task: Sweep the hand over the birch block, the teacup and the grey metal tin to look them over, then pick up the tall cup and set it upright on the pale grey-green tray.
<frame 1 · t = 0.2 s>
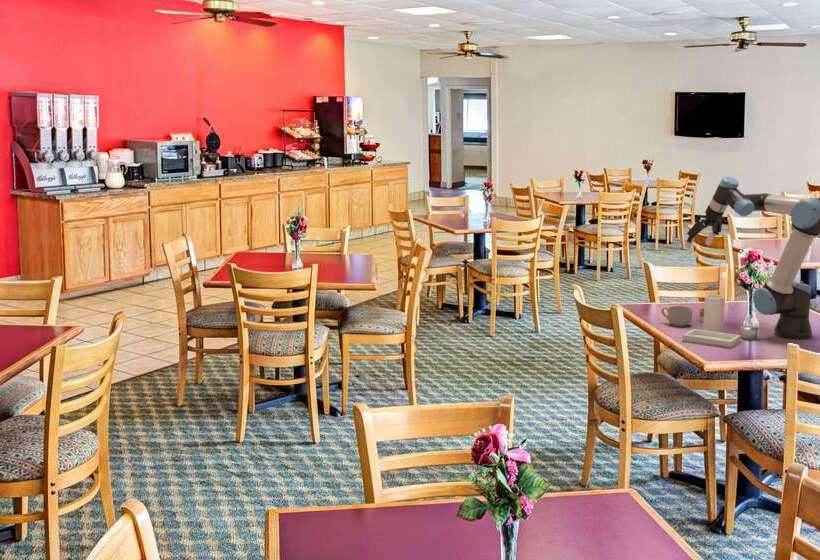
hand: (697, 245, 433), 34 cm above the table, tool tilted 30°, fingers open, 13 cm apart
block: (704, 320, 431), on the table
teacup: (676, 325, 423), on the table
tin: (748, 338, 397), on the table
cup: (712, 332, 409), on the table
tray: (711, 341, 391), on the table
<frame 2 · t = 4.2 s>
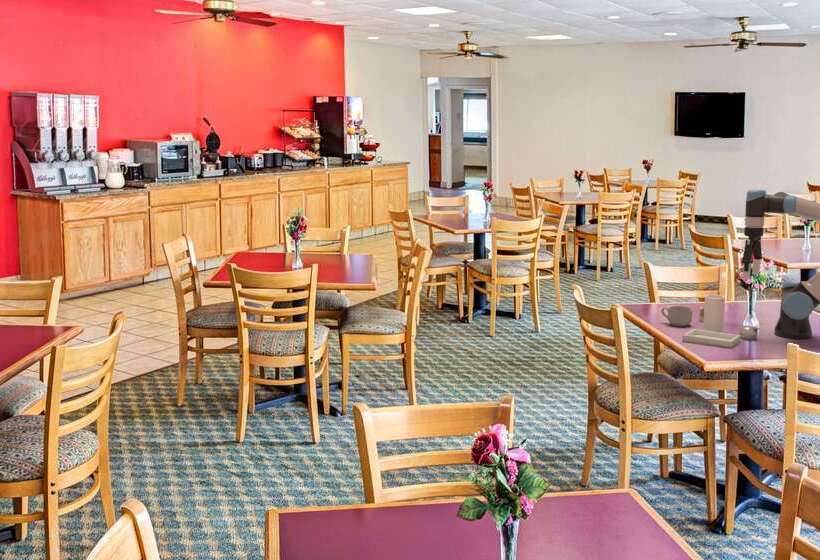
hand: (751, 276, 393), 27 cm above the table, tool pointing down, fingers open, 13 cm apart
nothing on the table moved.
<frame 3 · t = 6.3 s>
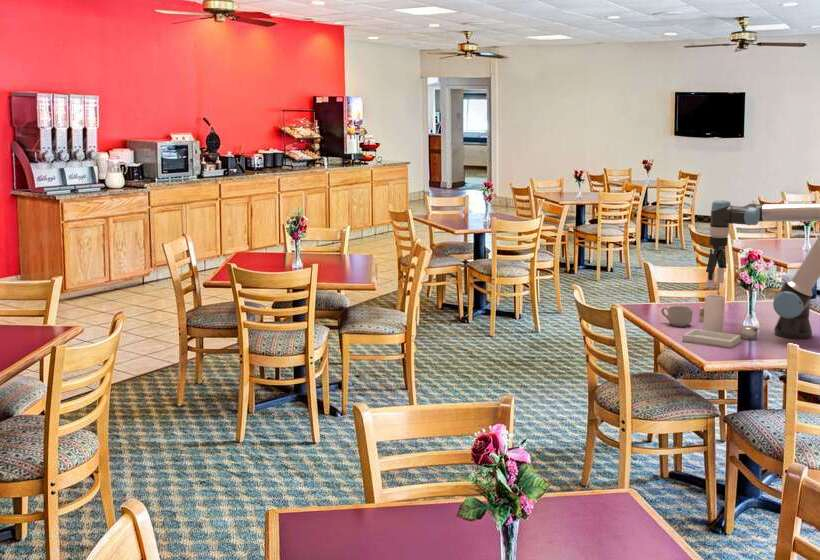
hand: (715, 285, 405), 21 cm above the table, tool pointing down, fingers open, 13 cm apart
nothing on the table moved.
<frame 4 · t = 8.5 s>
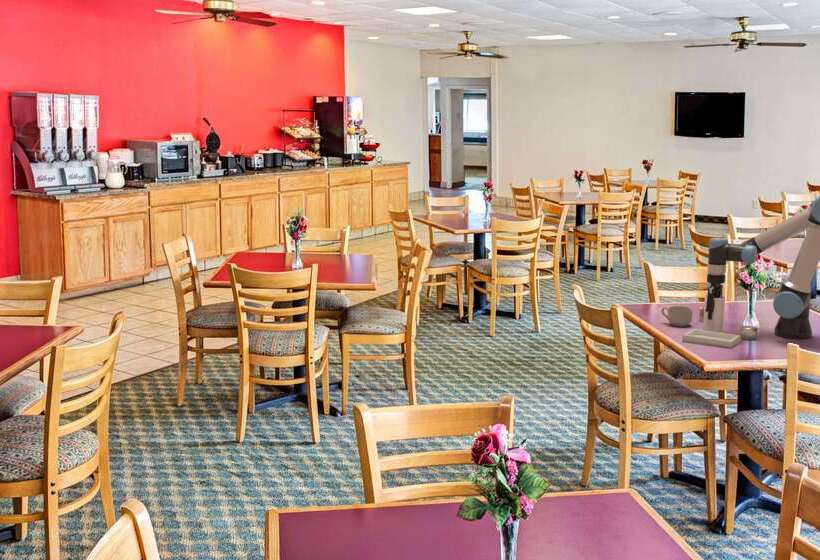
hand: (713, 324, 408), 3 cm above the table, tool pointing down, fingers closed on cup, 8 cm apart
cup: (712, 332, 409), on the table, touching gripper
everything else where it was.
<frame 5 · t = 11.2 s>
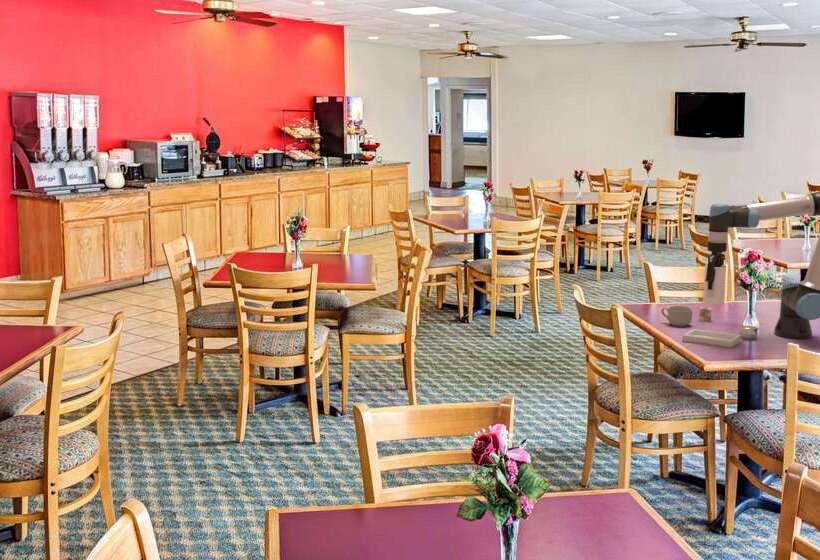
hand: (713, 295, 389), 20 cm above the table, tool pointing down, fingers closed on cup, 8 cm apart
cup: (712, 303, 390), point 16 cm above the table, touching gripper
everything else where it was.
when the fingers open (5 cm above the table, at t = 14.4 s): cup drops 1 cm, resting on tray.
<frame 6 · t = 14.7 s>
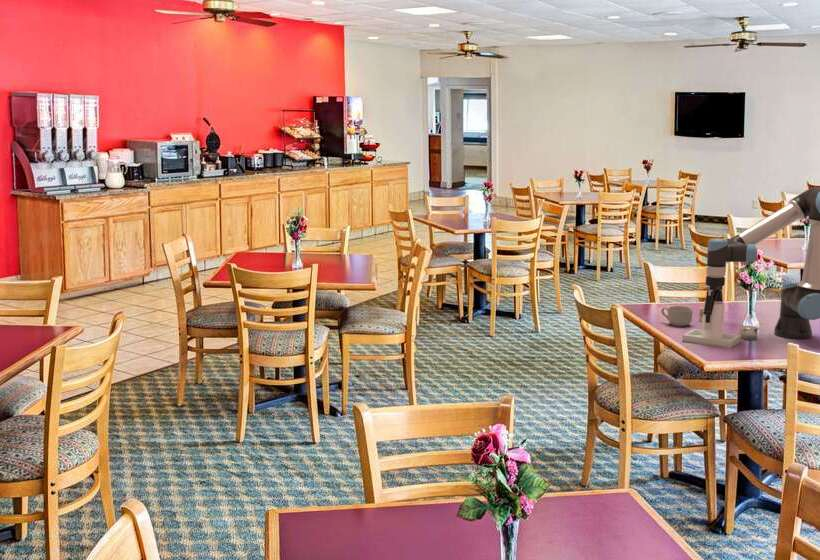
hand: (712, 327, 390), 6 cm above the table, tool pointing down, fingers open, 11 cm apart
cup: (711, 340, 391), point 1 cm above the table, touching tray
everything else where it was.
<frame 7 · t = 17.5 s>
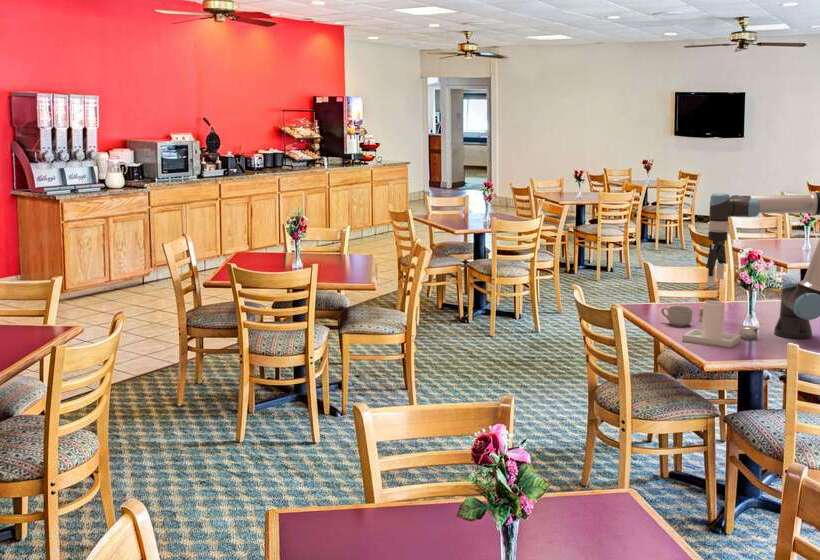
hand: (715, 281, 390), 25 cm above the table, tool pointing down, fingers open, 13 cm apart
nothing on the table moved.
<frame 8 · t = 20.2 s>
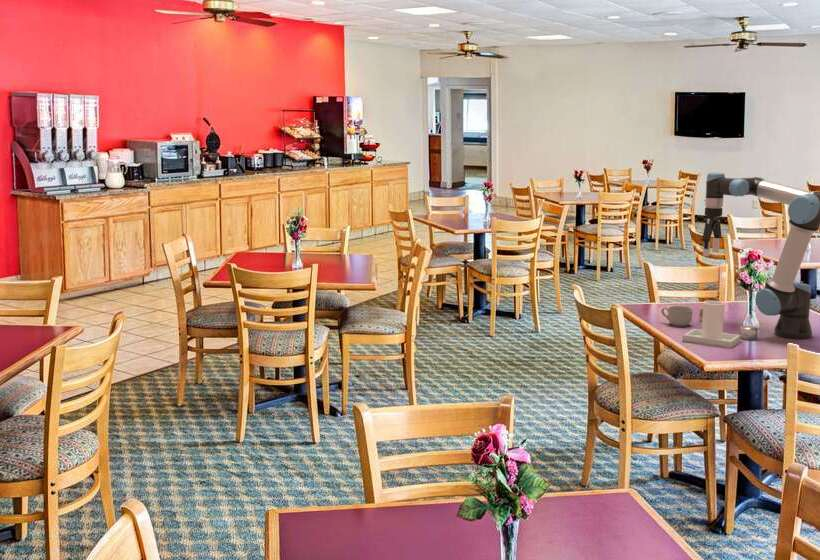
hand: (710, 254, 421), 32 cm above the table, tool pointing down, fingers open, 13 cm apart
nothing on the table moved.
at the end: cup inside the target area on the tray (0.0 cm from its centre), point 0.6 cm above the tray's base; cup tilted 0°; the gripper is holding nothing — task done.
